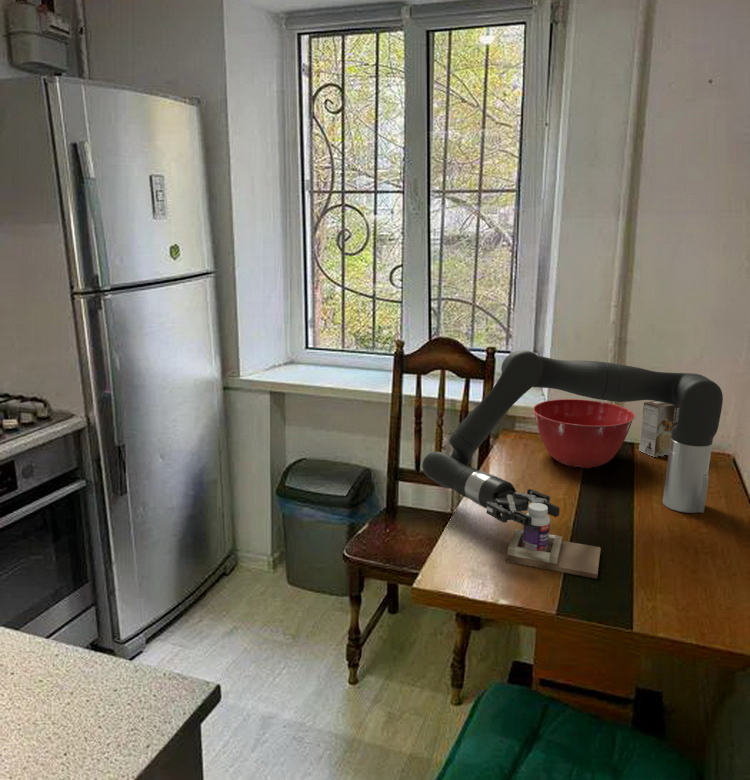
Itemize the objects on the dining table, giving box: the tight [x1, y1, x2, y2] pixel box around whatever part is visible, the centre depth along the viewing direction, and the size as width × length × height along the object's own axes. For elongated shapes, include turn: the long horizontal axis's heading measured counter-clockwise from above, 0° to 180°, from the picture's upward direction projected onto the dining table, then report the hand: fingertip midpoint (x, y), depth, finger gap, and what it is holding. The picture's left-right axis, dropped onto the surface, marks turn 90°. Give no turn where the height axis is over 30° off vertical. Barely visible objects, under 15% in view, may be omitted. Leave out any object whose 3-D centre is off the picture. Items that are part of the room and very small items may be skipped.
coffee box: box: [638, 400, 681, 458], centre depth 202 cm, size 9×6×16 cm
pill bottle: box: [522, 502, 551, 552], centre depth 140 cm, size 5×5×10 cm
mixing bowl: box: [532, 398, 636, 469], centre depth 195 cm, size 28×28×15 cm
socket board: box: [506, 528, 602, 580], centre depth 140 cm, size 18×12×2 cm, turn 69°
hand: (544, 517), depth 138 cm, fingers open, 8 cm apart
